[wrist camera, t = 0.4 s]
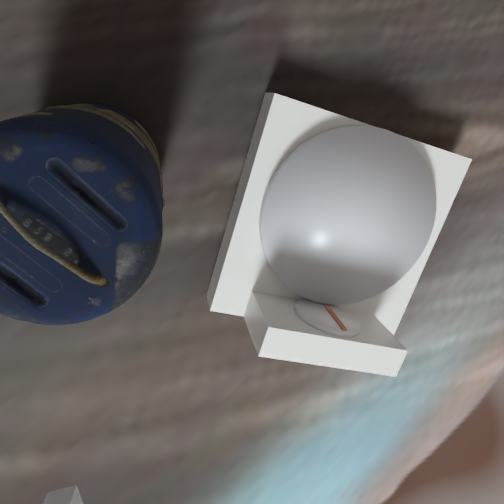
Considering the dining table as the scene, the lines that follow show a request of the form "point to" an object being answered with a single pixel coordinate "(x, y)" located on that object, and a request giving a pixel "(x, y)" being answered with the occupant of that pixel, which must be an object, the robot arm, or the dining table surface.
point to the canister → (76, 212)
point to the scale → (330, 236)
